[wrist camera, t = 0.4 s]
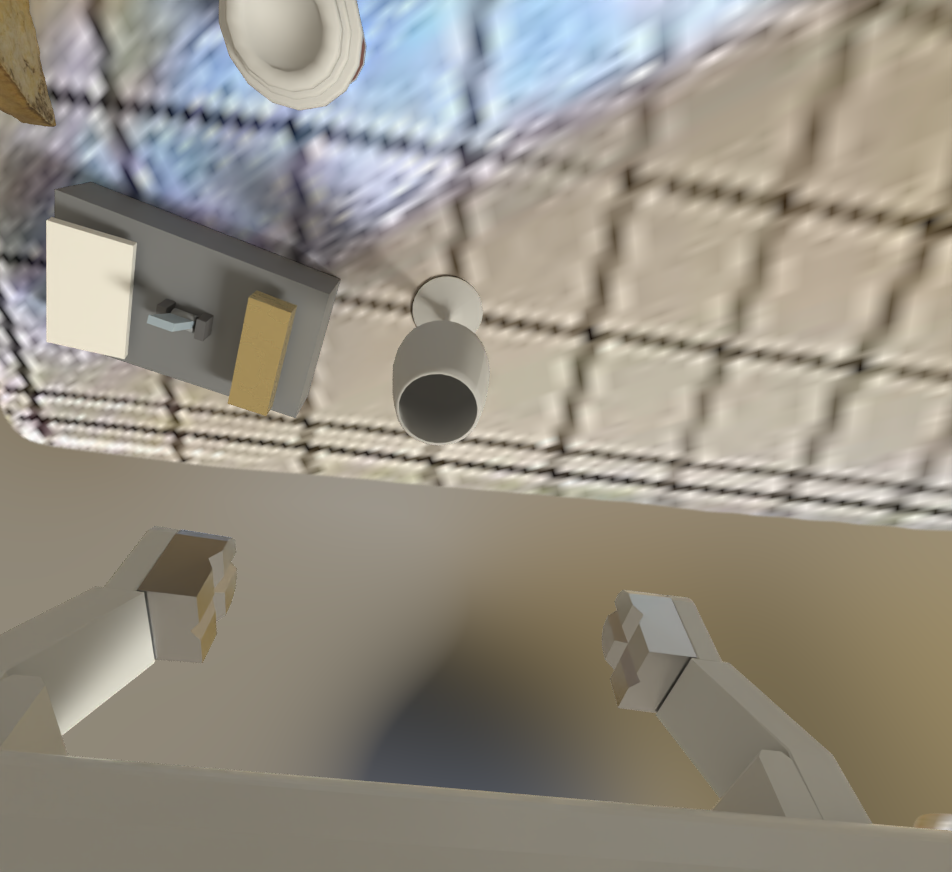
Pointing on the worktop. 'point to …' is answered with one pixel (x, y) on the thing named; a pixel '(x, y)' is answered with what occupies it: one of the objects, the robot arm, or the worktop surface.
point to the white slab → (88, 288)
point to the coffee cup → (295, 47)
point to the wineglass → (442, 364)
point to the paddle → (174, 321)
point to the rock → (22, 67)
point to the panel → (204, 293)
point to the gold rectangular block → (261, 352)
